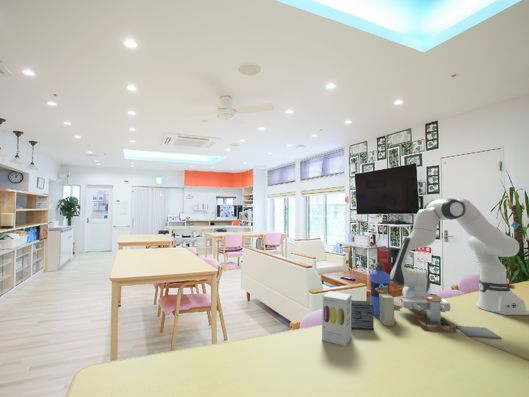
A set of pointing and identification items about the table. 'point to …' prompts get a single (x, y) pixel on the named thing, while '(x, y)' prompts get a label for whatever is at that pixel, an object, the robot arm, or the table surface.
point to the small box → (362, 315)
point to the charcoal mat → (478, 332)
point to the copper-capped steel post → (433, 310)
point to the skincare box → (386, 309)
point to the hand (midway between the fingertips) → (432, 309)
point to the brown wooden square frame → (446, 328)
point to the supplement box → (336, 318)
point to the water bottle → (378, 286)
